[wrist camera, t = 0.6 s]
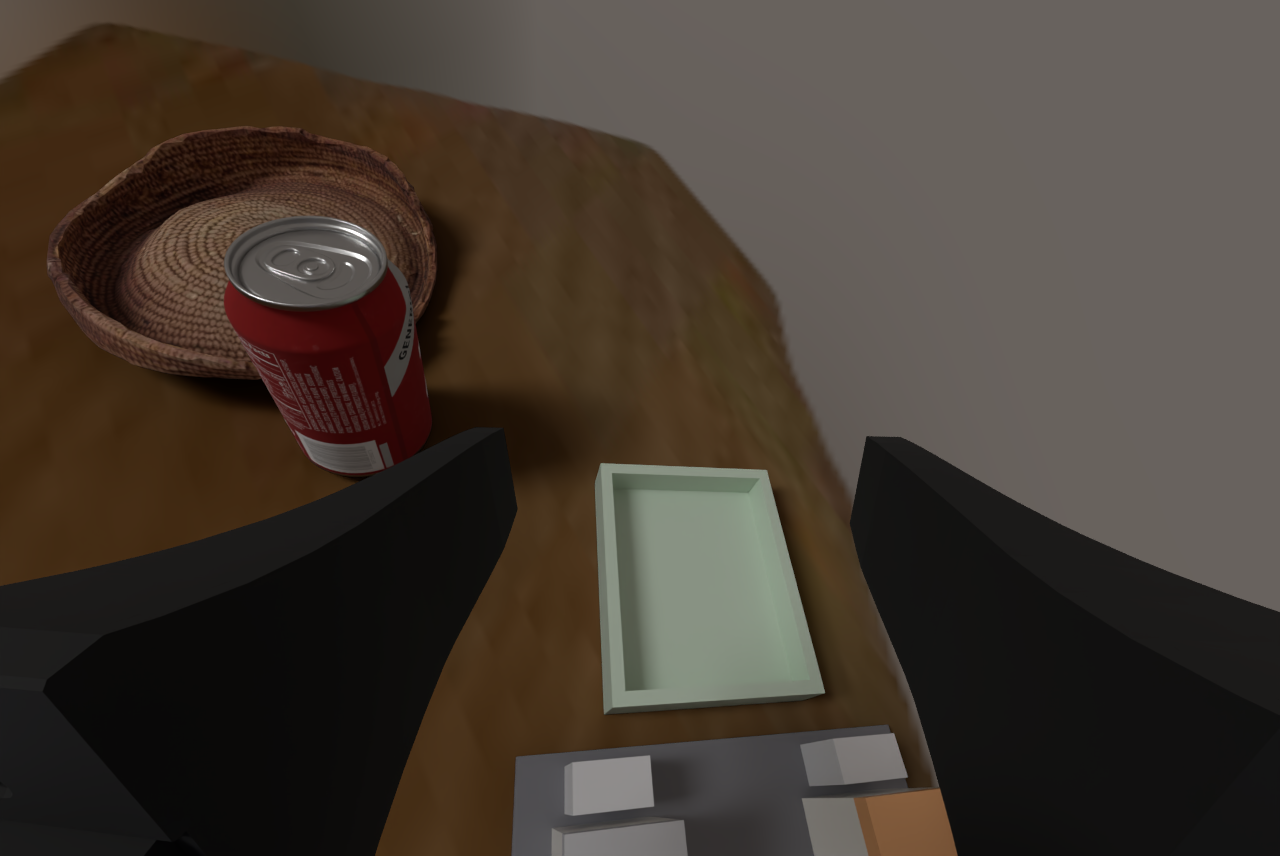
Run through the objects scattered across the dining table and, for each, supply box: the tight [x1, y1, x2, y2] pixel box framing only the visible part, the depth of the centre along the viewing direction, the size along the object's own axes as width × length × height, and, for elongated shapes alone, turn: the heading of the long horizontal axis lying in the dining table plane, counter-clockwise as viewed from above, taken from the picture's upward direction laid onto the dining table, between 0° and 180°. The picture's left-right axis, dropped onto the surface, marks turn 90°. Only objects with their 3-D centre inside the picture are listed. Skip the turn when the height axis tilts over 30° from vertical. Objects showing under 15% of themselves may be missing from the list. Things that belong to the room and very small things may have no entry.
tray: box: [595, 463, 825, 715], centre depth 27 cm, size 12×10×2 cm
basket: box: [47, 126, 437, 380], centre depth 33 cm, size 22×20×5 cm
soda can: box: [224, 216, 432, 477], centre depth 25 cm, size 7×7×12 cm
